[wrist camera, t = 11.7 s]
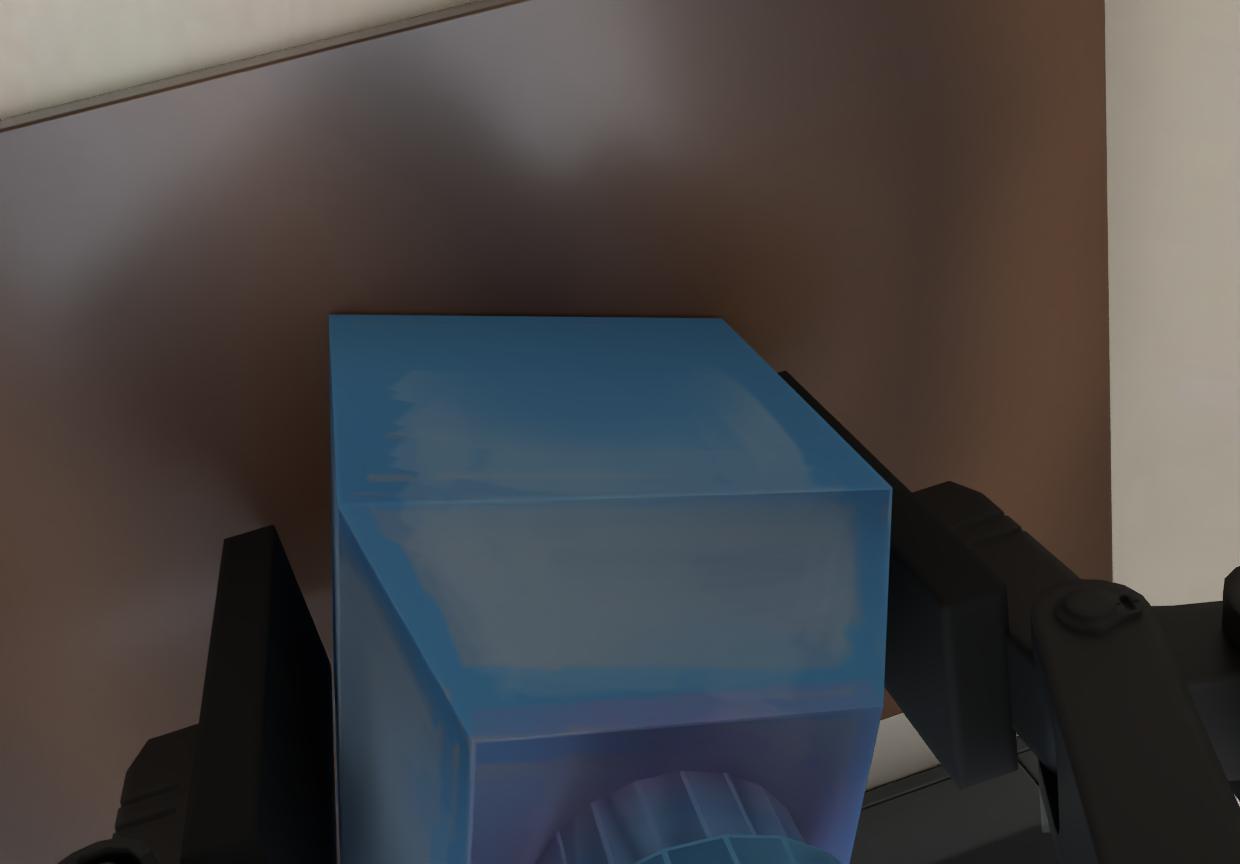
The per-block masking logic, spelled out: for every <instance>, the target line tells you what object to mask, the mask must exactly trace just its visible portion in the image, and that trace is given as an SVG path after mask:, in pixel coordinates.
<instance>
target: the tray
mask: <svg viewBox="0 0 1240 864" xmlns="http://www.w3.org/2000/svg"><path fill="white" fill-rule="evenodd" d="M1017 754H1018V770H1016V771H1013V772H1011V773H1008V774H1005V775H1002V776H999V777H997V778H994V779H991V780H988V781H985V782H983V783H980V784H977V785H974V786H971V787H969V788H966V789H963V790H960V789H959V788H958V786H957V785H956V784H955V782H954V781H953V780H952V778H951V777H950V775H949V774H948V773H947V771H946V770H945V769H944V767H943V766H942V765H941V766H939V767H936V768H933V769H930V770H927V771H925V772H922V773H919V774H916V775H913V776H910V777H908V778H905V779H902V780H899V781H896V782H893V783H891V784H888V785H885V786H882V787H879V788H877V789H874V790H871V791H868V792H865V793H864V798H863V803H862V807H861V812H860V816H859V821H858V826H857V830H856V835H855V840H854V844H853V849H852V853H851V858H850V863H849V864H1058V860H1057V856H1056V852H1055V848H1054V844H1053V840H1052V836H1051V832H1047V833H1042V826H1041V807H1040V789H1039V770H1038V757H1037V756H1036V755H1035V754H1034V753H1033V752H1032V750H1031V749H1030V748H1029V747H1028V746H1027V745H1026V743H1025V742H1024V741H1023V740H1022V739H1021V738H1018V739H1017Z"/></svg>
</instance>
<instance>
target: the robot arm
mask: <svg viewBox="0 0 1240 864" xmlns="http://www.w3.org/2000/svg"><path fill="white" fill-rule="evenodd" d="M777 374H778V375H779V376H780V377H781V378H782V379H783V380H784V381H785V382H786V383H787V384H788V385H790V386H791V387H792V388H793V389H794V390H795V391H796V392H797V393H798V394H799V395H800V396H801V397H802V398H803V399H804V400H805V401H806V402H807V403H808V404H809V405H810V406H811V407H812V408H813V409H814V410H815V411H816V412H817V413H818V414H819V415H820V416H821V417H822V418H823V419H824V420H825V421H826V422H827V423H828V424H829V425H830V426H831V427H832V428H833V429H834V430H835V431H836V432H837V433H838V434H839V435H840V436H841V437H842V438H843V439H844V440H845V441H846V442H847V443H848V444H849V445H850V446H851V447H852V448H853V449H854V450H855V451H856V452H857V453H858V454H859V455H860V456H861V457H862V458H863V459H864V460H865V461H866V462H867V463H868V464H869V465H870V466H871V467H872V468H873V469H874V470H875V471H876V472H877V473H878V474H879V475H880V476H881V477H882V478H883V479H884V480H885V481H886V482H887V483H888V484H889V485H890V486H891V487H892V510H891V534H890V558H889V582H888V605H887V629H886V653H885V677H884V687H885V689H886V690H887V691H888V693H889V694H890V695H891V697H892V698H893V699H894V701H895V702H896V704H897V705H898V706H899V708H900V709H901V710H902V712H903V713H904V714H905V716H906V717H907V718H908V720H909V721H910V723H911V724H912V725H913V727H914V728H915V729H916V731H917V732H918V733H919V735H920V736H921V737H922V739H923V740H924V742H925V743H926V744H927V746H928V747H929V748H930V750H931V751H932V752H933V754H934V755H935V756H936V758H937V759H938V761H939V762H940V763H941V765H942V766H943V767H944V769H945V770H946V771H947V773H948V774H949V775H950V777H951V778H952V780H953V781H954V782H955V784H956V785H957V786H958V788H959V789H960V790H963V789H966V788H969V787H971V786H974V785H977V784H980V783H983V782H985V781H988V780H991V779H994V778H997V777H999V776H1002V775H1005V774H1008V773H1011V772H1013V771H1016V770H1018V754H1017V739H1016V733H1017V734H1018V735H1019V736H1020V738H1021V739H1022V740H1023V741H1024V742H1025V743H1026V745H1027V746H1028V747H1029V748H1030V749H1031V750H1032V752H1033V753H1034V754H1035V755H1036V756H1037V757H1038V770H1039V789H1040V807H1041V826H1042V833H1047V832H1051V836H1052V840H1053V844H1054V848H1055V852H1056V856H1057V860H1058V864H1240V807H1239V805H1238V803H1237V800H1236V798H1235V796H1236V797H1237V798H1238V799H1239V801H1240V566H1239V567H1236V568H1235V569H1234V570H1233V571H1232V572H1231V573H1230V574H1229V575H1228V576H1227V577H1226V578H1225V581H1224V590H1223V601H1216V602H1206V603H1195V604H1185V605H1175V606H1151V605H1150V604H1149V603H1148V602H1147V600H1146V599H1145V598H1144V597H1143V596H1142V595H1141V594H1139V593H1137V592H1136V591H1134V590H1132V589H1130V588H1128V587H1127V586H1125V585H1121V584H1117V583H1113V582H1109V581H1106V580H1096V579H1081V578H1079V577H1078V576H1077V575H1076V574H1075V573H1074V572H1073V571H1071V570H1070V569H1069V568H1068V567H1067V566H1066V565H1065V564H1063V563H1062V562H1061V561H1060V560H1059V559H1058V558H1056V557H1055V556H1054V555H1053V554H1052V553H1051V552H1050V551H1048V550H1047V549H1046V548H1045V547H1044V546H1043V545H1042V544H1040V543H1039V542H1038V541H1037V540H1036V539H1035V538H1033V537H1032V536H1031V535H1030V534H1029V533H1028V532H1027V531H1022V529H1021V526H1020V525H1019V524H1017V523H1016V522H1015V521H1014V520H1013V519H1012V518H1010V517H1009V516H1008V515H1007V516H1005V514H1004V511H1002V510H1001V509H1000V508H999V507H998V506H997V505H996V504H994V503H993V502H992V501H991V500H990V499H989V498H987V497H986V496H985V495H984V494H983V493H981V492H979V491H976V490H973V489H971V488H968V487H965V486H963V485H960V484H957V483H955V482H952V481H947V482H944V483H940V484H937V485H934V486H931V487H928V488H925V489H922V490H919V491H915V492H911V491H910V490H909V489H908V488H907V487H906V486H905V485H904V484H903V483H902V482H900V481H899V480H898V479H897V478H896V477H895V476H894V475H893V474H892V473H891V472H890V471H889V470H888V469H887V468H886V467H885V466H884V465H883V464H882V463H881V462H880V461H879V460H878V459H877V458H876V457H875V456H874V455H873V454H872V453H871V452H870V451H869V450H868V449H866V448H865V447H864V446H863V445H862V444H861V443H860V442H859V441H858V440H857V439H856V438H855V437H854V436H853V435H852V434H851V433H850V432H849V431H848V430H847V429H846V428H845V427H844V426H843V425H842V424H841V423H840V422H839V421H838V420H837V419H836V418H835V417H834V416H833V415H831V414H830V413H829V412H828V411H827V410H826V409H825V408H824V407H823V406H822V405H821V404H820V403H819V402H818V401H817V400H816V399H815V398H814V397H813V396H812V395H811V394H810V393H809V392H808V391H807V390H806V389H805V388H804V387H803V386H802V385H801V384H800V383H799V382H797V381H796V380H795V379H794V378H793V377H792V376H791V375H790V374H789V373H788V372H787V371H786V370H785V371H782V372H778V373H777ZM1234 794H1235V796H1234ZM120 804H121V808H118V813H117V818H116V822H115V830H116V833H113V836H112V839H108V840H102V841H97V842H95V843H93V844H91V845H89V846H86V847H84V848H82V849H80V850H77V851H75V852H73V853H71V854H70V855H69V856H67V857H66V858H64V859H63V860H62V861H60V862H59V863H57V864H337V843H336V808H335V773H334V737H333V702H332V667H331V663H330V661H329V658H328V656H327V653H326V651H325V648H324V646H323V644H322V641H321V639H320V636H319V634H318V631H317V629H316V626H315V624H314V621H313V619H312V616H311V614H310V612H309V609H308V607H307V604H306V602H305V599H304V597H303V594H302V592H301V589H300V587H299V584H298V582H297V580H296V577H295V575H294V572H293V570H292V567H291V565H290V562H289V560H288V557H287V555H286V552H285V550H284V548H283V545H282V543H281V540H280V538H279V535H278V533H277V530H276V528H275V525H274V524H273V525H269V526H266V527H263V528H259V529H256V530H253V531H250V532H246V533H243V534H240V535H236V536H233V537H230V538H226V539H224V542H223V549H222V557H221V564H220V571H219V579H218V586H217V593H216V601H215V608H214V615H213V622H212V630H211V637H210V644H209V652H208V659H207V666H206V674H205V681H204V688H203V696H202V703H201V710H200V717H199V723H198V724H195V725H192V726H189V727H186V728H183V729H180V730H177V731H173V732H170V733H167V734H164V735H161V736H158V737H155V738H152V739H148V741H147V742H146V744H145V745H144V747H143V748H142V749H141V751H140V752H139V754H138V755H137V757H136V758H135V760H134V761H133V763H132V764H131V766H130V767H129V768H128V770H127V771H126V775H125V780H124V785H123V789H122V794H121V799H120Z"/></svg>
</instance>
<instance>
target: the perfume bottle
mask: <svg viewBox="0 0 1240 864" xmlns="http://www.w3.org/2000/svg"><path fill="white" fill-rule="evenodd" d="M329 364H330V447H331V530H332V614H333V676H334V709H335V742H336V775H337V808H338V841H339V864H849V863H850V858H851V853H852V849H853V844H854V840H855V835H856V830H857V826H858V821H859V816H860V812H861V807H862V803H863V798H864V793H865V789H866V784H867V779H868V775H869V770H870V766H871V761H872V756H873V752H874V747H875V742H876V738H877V733H878V728H879V724H880V719H881V715H882V710H883V701H884V677H885V653H886V629H887V605H888V582H889V558H890V534H891V510H892V487H891V486H890V485H889V484H888V483H887V482H886V481H885V480H884V479H883V478H882V477H881V476H880V475H879V474H878V473H877V472H876V471H875V470H874V469H873V468H872V467H871V466H870V465H869V464H868V463H867V462H866V461H865V460H864V459H863V458H862V457H861V456H860V455H859V454H858V453H857V452H856V451H855V450H854V449H853V448H852V447H851V446H850V445H849V444H848V443H847V442H846V441H845V440H844V439H843V438H842V437H841V436H840V435H839V434H838V433H837V432H836V431H835V430H834V429H833V428H832V427H831V426H830V425H829V424H828V423H827V422H826V421H825V420H824V419H823V418H822V417H821V416H820V415H819V414H818V413H817V412H816V411H815V410H814V409H813V408H812V407H811V406H810V405H809V404H808V403H807V402H806V401H805V400H804V399H803V398H802V397H801V396H800V395H799V394H798V393H797V392H796V391H795V390H794V389H793V388H792V387H791V386H790V385H788V384H787V383H786V382H785V381H784V380H783V379H782V378H781V377H780V376H779V375H778V374H777V373H776V372H775V371H774V370H773V369H772V368H771V367H770V366H769V365H768V364H767V363H766V362H765V361H764V360H763V359H762V358H761V357H760V356H759V355H758V354H757V353H756V352H755V351H754V350H753V349H752V348H751V347H750V346H749V345H748V344H747V343H746V342H745V341H744V340H743V339H742V338H741V337H740V336H739V335H738V334H737V333H736V332H735V331H734V330H733V329H732V328H731V327H730V326H729V325H728V324H727V323H726V322H725V321H724V320H723V319H722V318H636V317H534V316H431V315H329Z"/></svg>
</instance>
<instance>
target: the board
mask: <svg viewBox="0 0 1240 864" xmlns="http://www.w3.org/2000/svg"><path fill="white" fill-rule="evenodd" d="M329 315H431V316H534V317H636V318H722V319H723V320H724V321H725V322H726V323H727V324H728V325H729V326H730V327H731V328H732V329H733V330H734V331H735V332H736V333H737V334H738V335H739V336H740V337H741V338H742V339H743V340H744V341H745V342H746V343H747V344H748V345H749V346H750V347H751V348H752V349H753V350H754V351H755V352H756V353H757V354H758V355H759V356H760V357H761V358H762V359H763V360H764V361H765V362H766V363H767V364H768V365H769V366H770V367H771V368H772V369H773V370H774V371H775V372H776V373H778V372H782V371H785V370H786V371H787V372H788V373H789V374H790V375H791V376H792V377H793V378H794V379H795V380H796V381H797V382H799V383H800V384H801V385H802V386H803V387H804V388H805V389H806V390H807V391H808V392H809V393H810V394H811V395H812V396H813V397H814V398H815V399H816V400H817V401H818V402H819V403H820V404H821V405H822V406H823V407H824V408H825V409H826V410H827V411H828V412H829V413H830V414H831V415H833V416H834V417H835V418H836V419H837V420H838V421H839V422H840V423H841V424H842V425H843V426H844V427H845V428H846V429H847V430H848V431H849V432H850V433H851V434H852V435H853V436H854V437H855V438H856V439H857V440H858V441H859V442H860V443H861V444H862V445H863V446H864V447H865V448H866V449H868V450H869V451H870V452H871V453H872V454H873V455H874V456H875V457H876V458H877V459H878V460H879V461H880V462H881V463H882V464H883V465H884V466H885V467H886V468H887V469H888V470H889V471H890V472H891V473H892V474H893V475H894V476H895V477H896V478H897V479H898V480H899V481H900V482H902V483H903V484H904V485H905V486H906V487H907V488H908V489H909V490H910V491H911V492H915V491H919V490H922V489H925V488H928V487H931V486H934V485H937V484H940V483H944V482H947V481H952V482H955V483H957V484H960V485H963V486H965V487H968V488H971V489H973V490H976V491H979V492H981V493H983V494H984V495H985V496H986V497H987V498H989V499H990V500H991V501H992V502H993V503H994V504H996V505H997V506H998V507H999V508H1000V509H1001V510H1002V511H1004V514H1005V516H1007V515H1008V516H1009V517H1010V518H1012V519H1013V520H1014V521H1015V522H1016V523H1017V524H1019V525H1020V526H1021V529H1022V531H1027V532H1028V533H1029V534H1030V535H1031V536H1032V537H1033V538H1035V539H1036V540H1037V541H1038V542H1039V543H1040V544H1042V545H1043V546H1044V547H1045V548H1046V549H1047V550H1048V551H1050V552H1051V553H1052V554H1053V555H1054V556H1055V557H1056V558H1058V559H1059V560H1060V561H1061V562H1062V563H1063V564H1065V565H1066V566H1067V567H1068V568H1069V569H1070V570H1071V571H1073V572H1074V573H1075V574H1076V575H1077V576H1078V577H1079V578H1081V579H1096V580H1106V581H1109V582H1113V576H1112V504H1111V432H1110V360H1109V288H1108V217H1107V145H1106V73H1105V1H1104V0H481V1H477V2H472V3H468V4H464V5H460V6H456V7H452V8H448V9H444V10H440V11H436V12H432V13H428V14H424V15H420V16H416V17H412V18H408V19H404V20H400V21H396V22H392V23H388V24H384V25H380V26H376V27H372V28H368V29H364V30H360V31H356V32H352V33H348V34H344V35H340V36H336V37H332V38H328V39H324V40H320V41H316V42H312V43H308V44H304V45H300V46H296V47H292V48H288V49H284V50H280V51H276V52H272V53H268V54H263V55H259V56H255V57H251V58H247V59H243V60H239V61H235V62H231V63H227V64H223V65H219V66H215V67H211V68H207V69H203V70H199V71H195V72H191V73H187V74H183V75H179V76H175V77H171V78H167V79H163V80H159V81H155V82H151V83H147V84H143V85H139V86H135V87H131V88H127V89H123V90H119V91H115V92H111V93H107V94H103V95H99V96H95V97H91V98H87V99H83V100H79V101H75V102H71V103H67V104H63V105H58V106H54V107H50V108H46V109H42V110H38V111H34V112H30V113H26V114H22V115H18V116H14V117H10V118H6V119H2V120H0V864H57V863H59V862H60V861H62V860H63V859H64V858H66V857H67V856H69V855H70V854H71V853H73V852H75V851H77V850H80V849H82V848H84V847H86V846H89V845H91V844H93V843H95V842H97V841H102V840H108V839H112V836H113V833H116V830H115V822H116V818H117V813H118V808H121V804H120V799H121V794H122V789H123V785H124V780H125V775H126V771H127V770H128V768H129V767H130V766H131V764H132V763H133V761H134V760H135V758H136V757H137V755H138V754H139V752H140V751H141V749H142V748H143V747H144V745H145V744H146V742H147V741H148V739H152V738H155V737H158V736H161V735H164V734H167V733H170V732H173V731H177V730H180V729H183V728H186V727H189V726H192V725H195V724H198V723H199V717H200V710H201V703H202V696H203V688H204V681H205V674H206V666H207V659H208V652H209V644H210V637H211V630H212V622H213V615H214V608H215V601H216V593H217V586H218V579H219V571H220V564H221V557H222V549H223V542H224V539H226V538H230V537H233V536H236V535H240V534H243V533H246V532H250V531H253V530H256V529H259V528H263V527H266V526H269V525H273V524H274V525H275V528H276V530H277V533H278V535H279V538H280V540H281V543H282V545H283V548H284V550H285V552H286V555H287V557H288V560H289V562H290V565H291V567H292V570H293V572H294V575H295V577H296V580H297V582H298V584H299V587H300V589H301V592H302V594H303V597H304V599H305V602H306V604H307V607H308V609H309V612H310V614H311V616H312V619H313V621H314V624H315V626H316V629H317V631H318V634H319V636H320V639H321V641H322V644H323V646H324V648H325V651H326V653H327V656H328V658H329V661H330V663H331V667H332V702H333V737H334V773H335V808H336V843H337V864H339V841H338V808H337V775H336V742H335V709H334V676H333V614H332V530H331V447H330V364H329ZM900 713H903V712H902V710H901V709H900V708H899V706H898V705H897V704H896V702H895V701H894V699H893V698H892V697H891V695H890V694H889V693H888V691H887V690H886V689H885V687H884V701H883V710H882V715H881V719H880V720H883V719H886V718H889V717H891V716H894V715H897V714H900Z"/></svg>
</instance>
